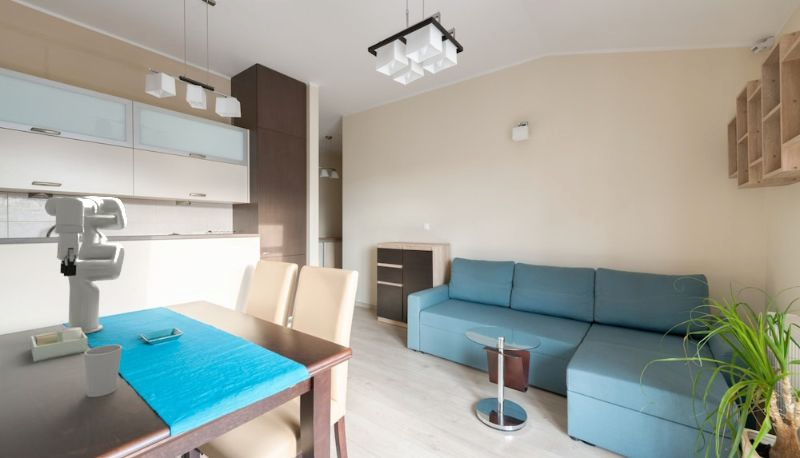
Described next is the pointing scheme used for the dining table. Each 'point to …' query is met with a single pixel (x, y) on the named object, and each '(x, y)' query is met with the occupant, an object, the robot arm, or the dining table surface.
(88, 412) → the dining table surface
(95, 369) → the cup
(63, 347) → the tote
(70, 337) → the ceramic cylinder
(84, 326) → the robot arm
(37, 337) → the beech cube
